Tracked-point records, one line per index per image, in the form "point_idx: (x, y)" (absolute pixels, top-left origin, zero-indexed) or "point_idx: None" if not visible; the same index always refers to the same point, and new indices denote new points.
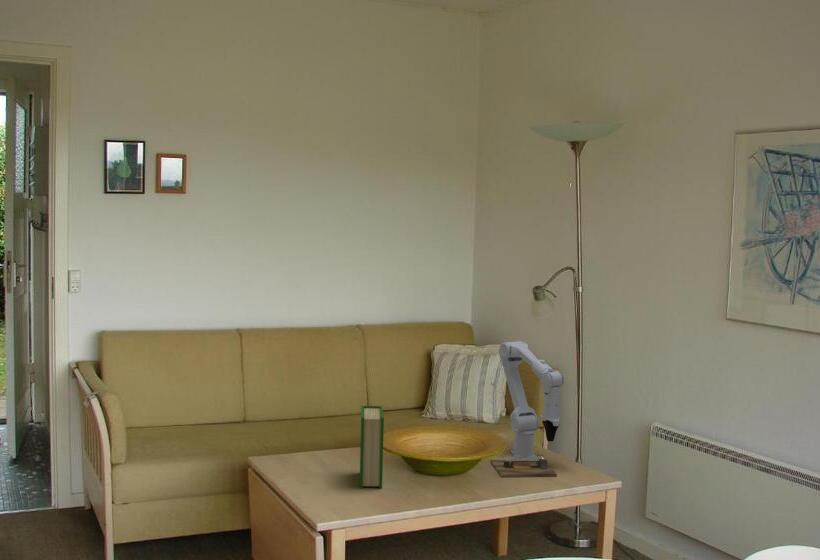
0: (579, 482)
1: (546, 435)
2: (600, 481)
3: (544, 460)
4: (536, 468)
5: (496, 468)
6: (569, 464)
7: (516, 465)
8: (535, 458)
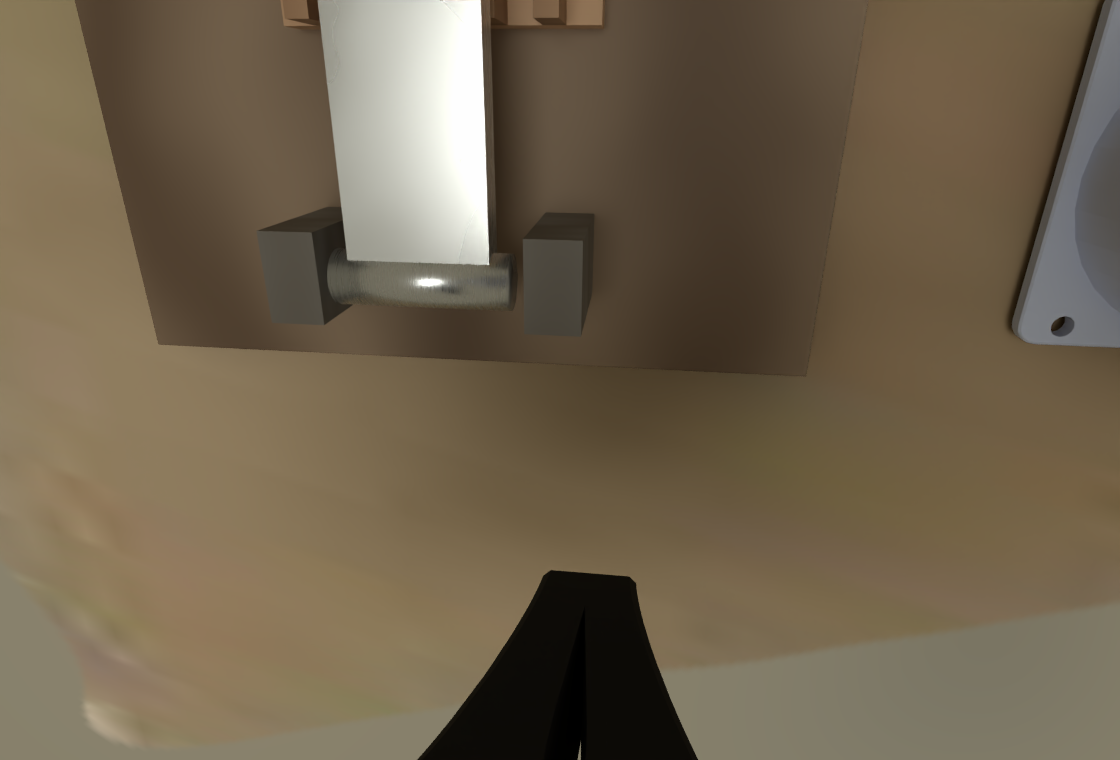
0: (35, 492)
1: (594, 651)
2: (114, 663)
3: (270, 276)
4: None
5: None
6: (655, 614)
7: None
8: (344, 142)
